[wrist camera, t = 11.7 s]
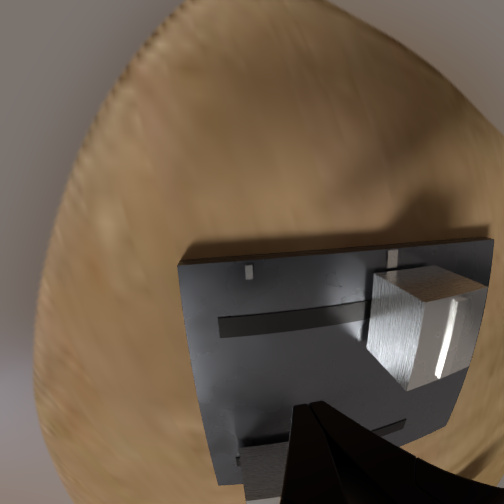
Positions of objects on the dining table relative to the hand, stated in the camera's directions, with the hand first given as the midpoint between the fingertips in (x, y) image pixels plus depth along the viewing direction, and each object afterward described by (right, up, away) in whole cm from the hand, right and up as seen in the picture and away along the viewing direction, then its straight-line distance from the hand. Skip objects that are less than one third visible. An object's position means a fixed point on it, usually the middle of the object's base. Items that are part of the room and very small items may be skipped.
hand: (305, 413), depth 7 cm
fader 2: (+6, +2, +6) cm, 9 cm away
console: (+5, -3, +9) cm, 11 cm away
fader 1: (0, -9, +8) cm, 12 cm away
